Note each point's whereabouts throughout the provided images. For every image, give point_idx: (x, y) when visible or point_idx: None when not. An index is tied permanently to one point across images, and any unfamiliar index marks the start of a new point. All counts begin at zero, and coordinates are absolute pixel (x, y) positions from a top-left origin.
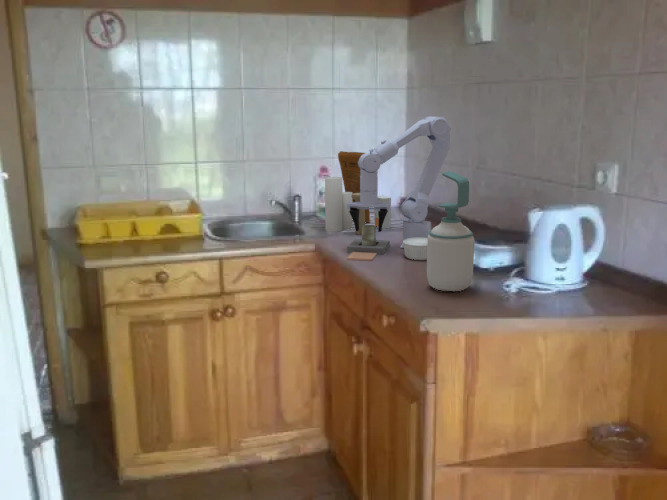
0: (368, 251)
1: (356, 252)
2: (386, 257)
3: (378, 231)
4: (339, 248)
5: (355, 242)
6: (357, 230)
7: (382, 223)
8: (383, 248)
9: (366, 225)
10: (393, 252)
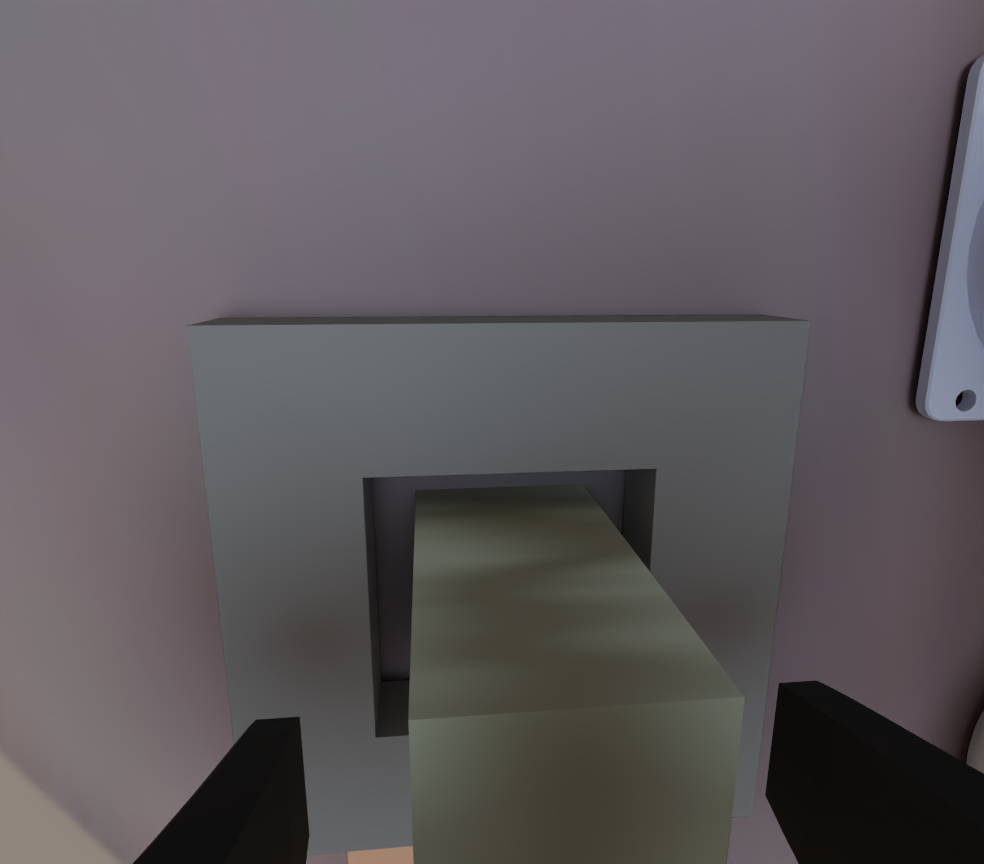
0: None
1: (403, 847)
2: (759, 854)
3: (771, 806)
4: (68, 600)
5: (281, 584)
6: (303, 849)
7: (974, 802)
8: (752, 808)
9: (496, 788)
10: (825, 632)
